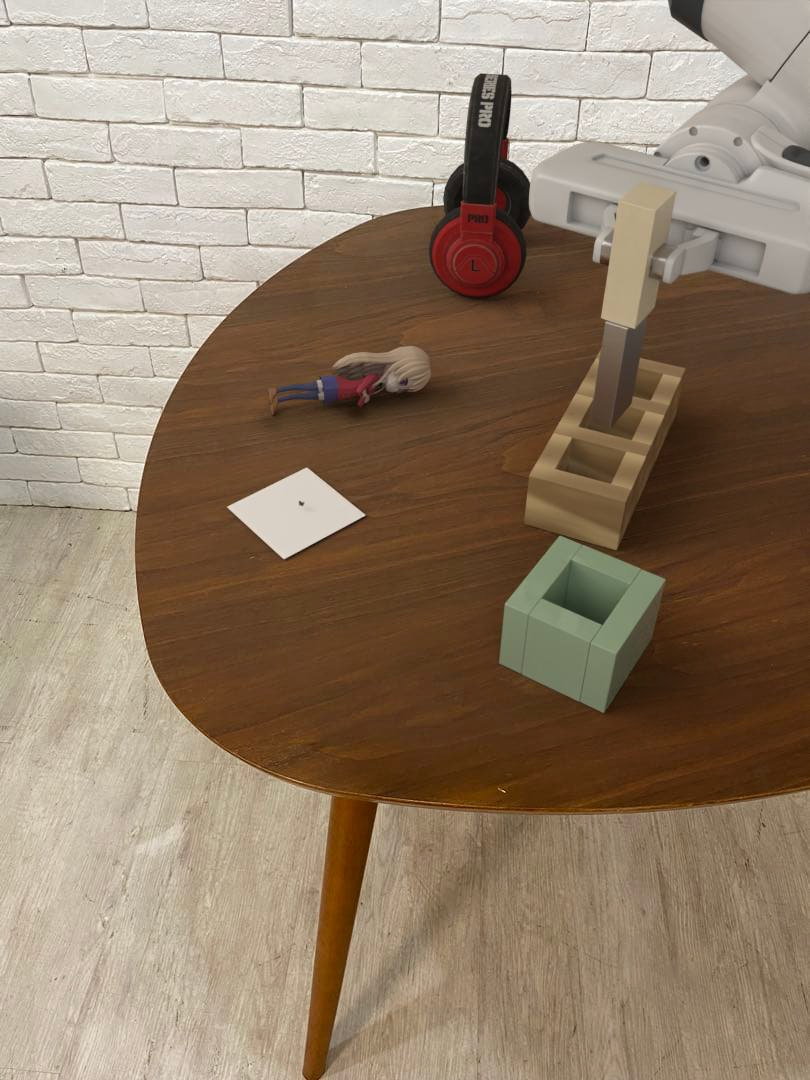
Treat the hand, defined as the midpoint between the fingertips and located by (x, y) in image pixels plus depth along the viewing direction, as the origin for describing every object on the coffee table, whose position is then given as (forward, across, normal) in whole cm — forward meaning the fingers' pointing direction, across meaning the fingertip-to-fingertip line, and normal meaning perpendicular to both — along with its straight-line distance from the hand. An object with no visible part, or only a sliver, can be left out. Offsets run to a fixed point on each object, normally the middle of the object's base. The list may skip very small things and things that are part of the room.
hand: (632, 262), depth 65 cm
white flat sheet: (+9, -21, +24) cm, 34 cm away
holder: (+10, +4, +24) cm, 27 cm away
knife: (-1, 0, +12) cm, 12 cm away
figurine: (-6, -27, +25) cm, 37 cm away
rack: (-10, -3, +24) cm, 27 cm away
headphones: (-34, -29, +25) cm, 51 cm away
